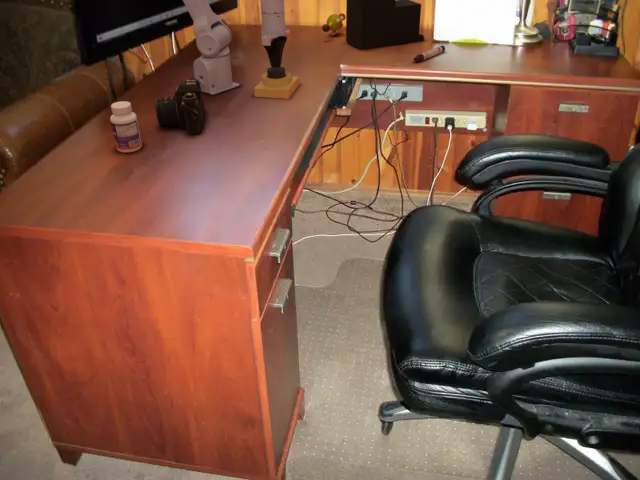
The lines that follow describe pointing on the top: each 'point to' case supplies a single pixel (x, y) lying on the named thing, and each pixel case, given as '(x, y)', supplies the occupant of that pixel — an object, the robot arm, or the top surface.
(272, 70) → the button
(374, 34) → the bookend
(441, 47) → the marker
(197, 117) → the film camera
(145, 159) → the top surface
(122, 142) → the pill bottle
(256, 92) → the plate
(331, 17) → the toy figure
